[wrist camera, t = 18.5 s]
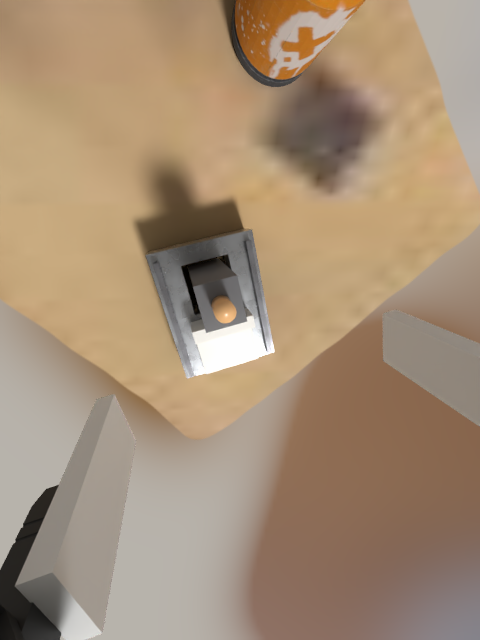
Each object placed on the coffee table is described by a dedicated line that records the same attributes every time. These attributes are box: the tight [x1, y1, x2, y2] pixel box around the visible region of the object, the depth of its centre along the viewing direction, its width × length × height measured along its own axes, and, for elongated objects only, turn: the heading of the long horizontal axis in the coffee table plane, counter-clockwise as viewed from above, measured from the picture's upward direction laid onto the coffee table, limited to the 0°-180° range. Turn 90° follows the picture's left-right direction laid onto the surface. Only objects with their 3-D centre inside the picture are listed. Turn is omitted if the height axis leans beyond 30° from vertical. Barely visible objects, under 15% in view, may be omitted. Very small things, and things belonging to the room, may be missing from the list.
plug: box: [188, 258, 247, 333], centre depth 29 cm, size 4×4×14 cm
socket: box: [146, 229, 275, 378], centre depth 35 cm, size 16×12×5 cm
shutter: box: [191, 307, 258, 374], centre depth 33 cm, size 7×7×3 cm
